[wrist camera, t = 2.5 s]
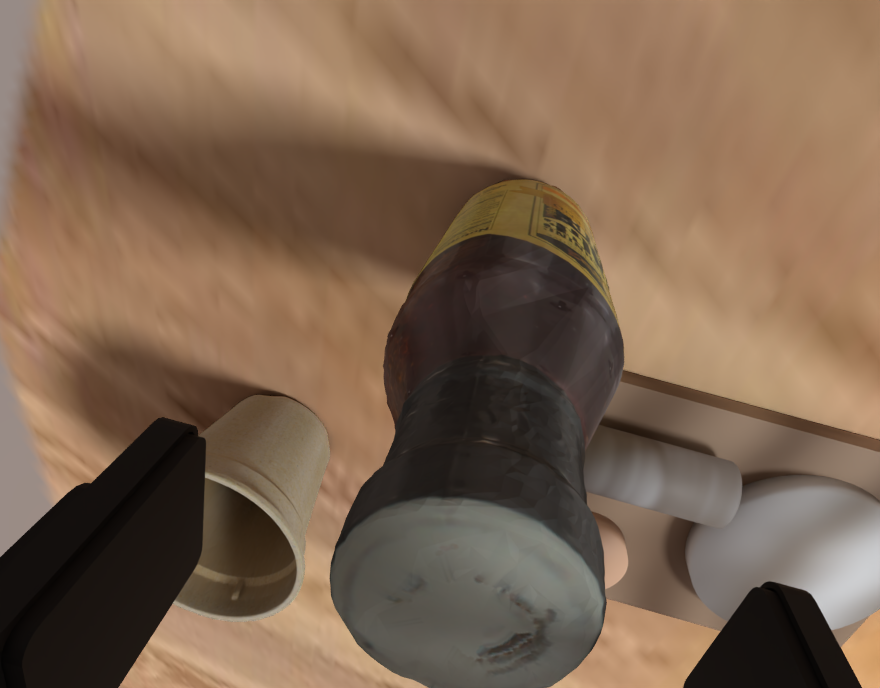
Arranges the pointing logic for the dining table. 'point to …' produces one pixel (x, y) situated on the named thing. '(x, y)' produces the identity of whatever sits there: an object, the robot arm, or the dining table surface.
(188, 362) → the dining table surface
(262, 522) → the flower pot
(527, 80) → the dining table surface
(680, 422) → the board
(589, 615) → the sauce bottle
